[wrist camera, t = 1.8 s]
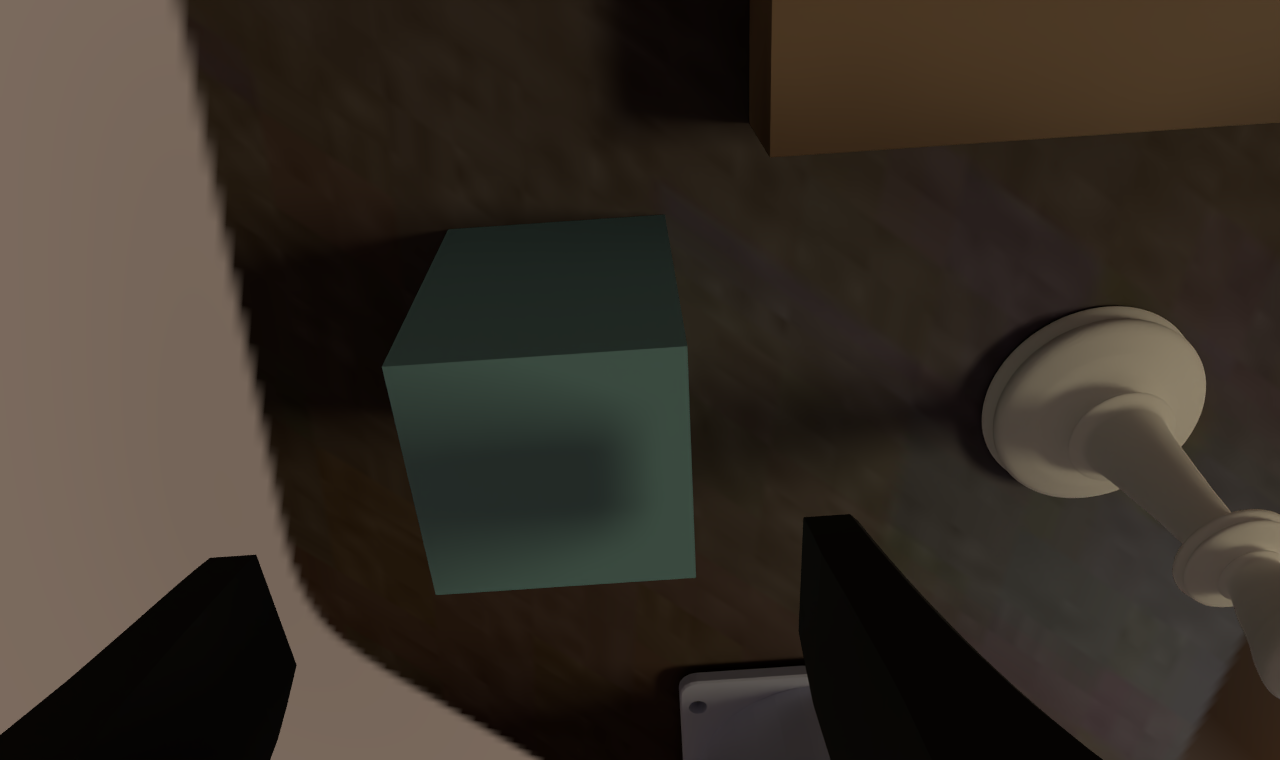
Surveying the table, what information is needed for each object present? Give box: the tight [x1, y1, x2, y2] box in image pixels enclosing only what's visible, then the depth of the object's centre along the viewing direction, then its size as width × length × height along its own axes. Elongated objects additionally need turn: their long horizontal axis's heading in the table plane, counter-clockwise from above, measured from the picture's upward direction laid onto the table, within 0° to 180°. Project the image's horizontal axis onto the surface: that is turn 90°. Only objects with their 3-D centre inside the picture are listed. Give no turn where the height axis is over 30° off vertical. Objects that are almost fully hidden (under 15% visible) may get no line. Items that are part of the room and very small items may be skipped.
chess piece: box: [982, 306, 1280, 699], centre depth 16 cm, size 5×5×10 cm
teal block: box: [382, 215, 696, 595], centre depth 16 cm, size 4×4×6 cm
